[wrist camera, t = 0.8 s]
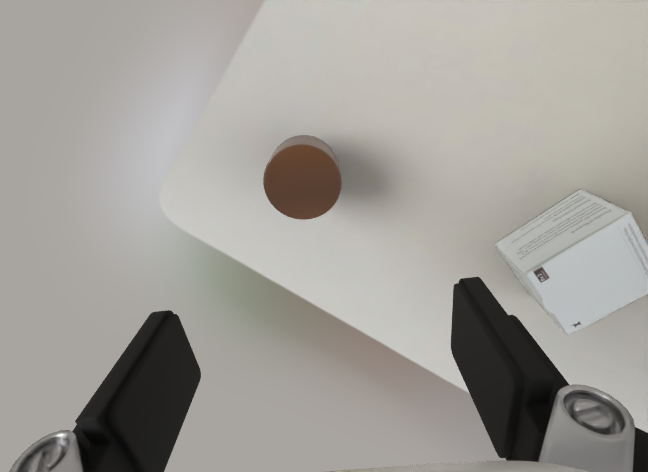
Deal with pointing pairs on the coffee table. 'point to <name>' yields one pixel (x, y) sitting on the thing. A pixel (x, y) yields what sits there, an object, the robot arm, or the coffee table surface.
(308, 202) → the stopper
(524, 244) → the small box
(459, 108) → the coffee table surface
